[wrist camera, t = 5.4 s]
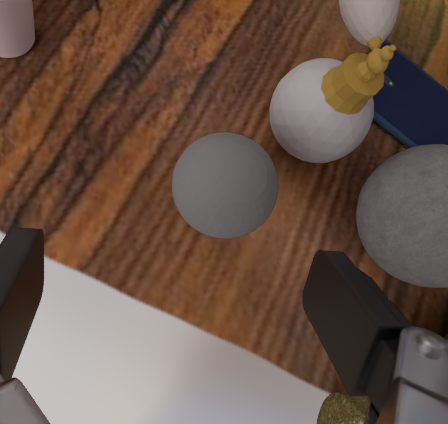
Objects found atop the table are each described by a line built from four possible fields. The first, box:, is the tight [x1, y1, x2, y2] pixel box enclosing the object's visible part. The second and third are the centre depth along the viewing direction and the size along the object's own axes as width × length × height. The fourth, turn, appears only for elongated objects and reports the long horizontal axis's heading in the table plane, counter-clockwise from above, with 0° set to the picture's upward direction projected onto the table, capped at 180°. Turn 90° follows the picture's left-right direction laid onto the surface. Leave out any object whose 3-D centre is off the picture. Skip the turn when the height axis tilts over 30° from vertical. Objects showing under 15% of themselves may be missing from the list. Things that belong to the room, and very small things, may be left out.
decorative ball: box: [356, 144, 448, 288], centre depth 29 cm, size 10×10×10 cm
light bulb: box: [172, 132, 278, 239], centre depth 25 cm, size 6×6×10 cm
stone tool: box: [317, 333, 448, 424], centre depth 28 cm, size 20×9×10 cm, turn 114°
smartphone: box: [373, 40, 448, 148], centre depth 36 cm, size 8×1×15 cm
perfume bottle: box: [269, 0, 401, 163], centre depth 28 cm, size 8×10×12 cm
